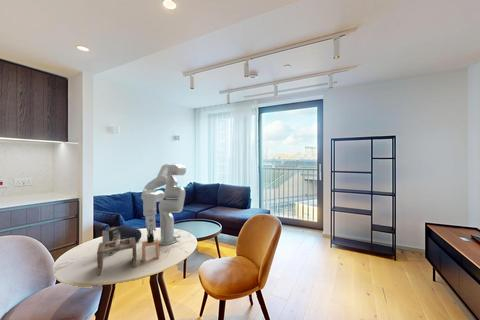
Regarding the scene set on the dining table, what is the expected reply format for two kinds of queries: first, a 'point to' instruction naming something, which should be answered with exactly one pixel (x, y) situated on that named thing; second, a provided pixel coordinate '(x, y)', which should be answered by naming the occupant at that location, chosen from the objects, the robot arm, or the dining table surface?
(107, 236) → the coffee box
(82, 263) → the dining table surface
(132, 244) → the shelf
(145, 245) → the tan and grey block
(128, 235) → the portable speaker
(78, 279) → the dining table surface
